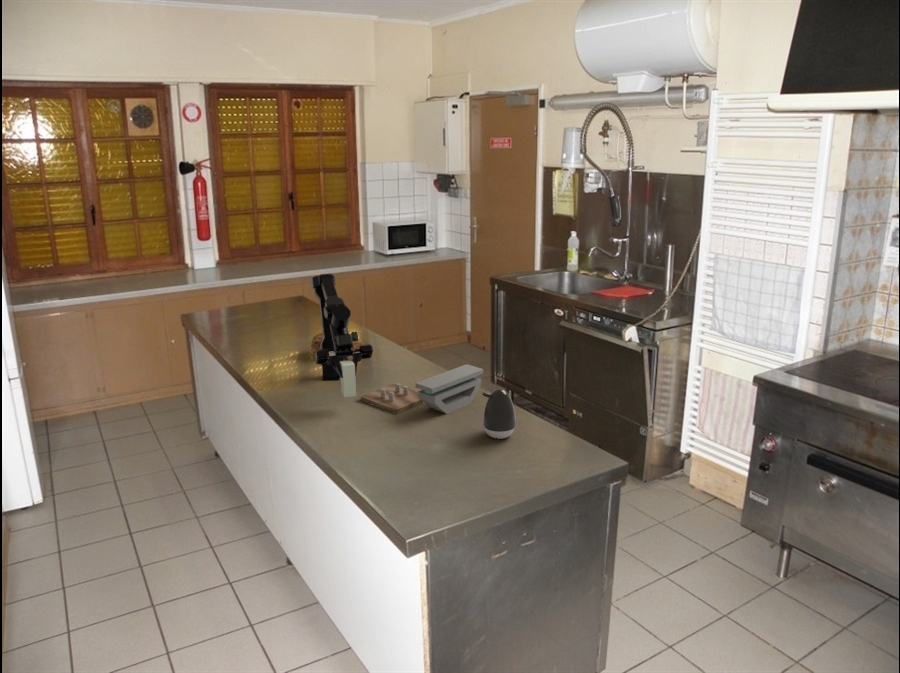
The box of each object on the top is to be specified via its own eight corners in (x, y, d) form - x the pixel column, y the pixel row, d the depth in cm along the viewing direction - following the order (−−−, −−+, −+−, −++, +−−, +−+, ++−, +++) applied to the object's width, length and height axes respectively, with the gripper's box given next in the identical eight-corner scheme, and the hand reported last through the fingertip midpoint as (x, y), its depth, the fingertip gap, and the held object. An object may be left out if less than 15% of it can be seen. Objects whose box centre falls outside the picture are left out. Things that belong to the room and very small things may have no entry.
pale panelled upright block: (352, 390, 235) (351, 359, 232) (356, 395, 230) (354, 364, 227) (341, 391, 234) (339, 360, 230) (344, 397, 229) (342, 366, 225)
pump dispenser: (479, 429, 218) (480, 383, 214) (512, 427, 219) (513, 382, 215) (484, 443, 209) (484, 396, 204) (518, 441, 209) (519, 394, 205)
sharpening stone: (432, 420, 225) (432, 388, 222) (416, 413, 230) (415, 383, 227) (483, 398, 242) (483, 369, 239) (466, 393, 248) (466, 364, 244)
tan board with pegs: (396, 414, 230) (396, 401, 229) (360, 400, 241) (360, 388, 240) (429, 400, 241) (429, 387, 240) (393, 387, 253) (393, 376, 251)
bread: (311, 359, 285) (309, 335, 282) (326, 351, 294) (325, 329, 291) (349, 365, 277) (348, 341, 274) (363, 357, 286) (362, 334, 283)
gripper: (314, 326, 225) (322, 369, 218) (370, 321, 231) (379, 362, 224) (312, 342, 235) (319, 384, 228) (366, 337, 241) (375, 377, 234)
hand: (348, 376), depth 228 cm, fingers closed on pale panelled upright block, 4 cm apart
